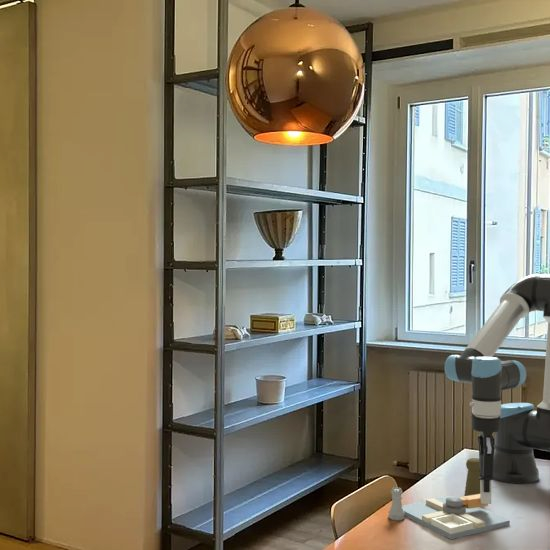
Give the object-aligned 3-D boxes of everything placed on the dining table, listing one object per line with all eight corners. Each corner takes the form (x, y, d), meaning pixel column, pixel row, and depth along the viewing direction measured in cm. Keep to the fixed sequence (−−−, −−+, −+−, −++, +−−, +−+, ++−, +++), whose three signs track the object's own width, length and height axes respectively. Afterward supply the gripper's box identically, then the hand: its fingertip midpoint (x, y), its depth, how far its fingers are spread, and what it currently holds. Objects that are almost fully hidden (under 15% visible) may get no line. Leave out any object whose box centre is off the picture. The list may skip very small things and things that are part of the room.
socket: (452, 519, 190) (452, 513, 190) (473, 528, 184) (473, 522, 184) (431, 524, 187) (431, 518, 187) (450, 534, 180) (450, 528, 180)
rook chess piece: (394, 522, 192) (394, 492, 191) (384, 516, 196) (385, 487, 195) (408, 519, 193) (408, 490, 193) (398, 514, 198) (399, 484, 197)
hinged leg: (452, 512, 191) (452, 503, 191) (442, 507, 195) (442, 498, 195) (490, 506, 195) (490, 497, 195) (479, 501, 199) (479, 492, 199)
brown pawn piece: (486, 500, 208) (487, 462, 208) (464, 498, 210) (465, 461, 209) (484, 493, 214) (485, 456, 214) (463, 492, 215) (464, 455, 215)
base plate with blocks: (451, 499, 209) (451, 487, 209) (509, 524, 190) (509, 511, 190) (396, 511, 200) (396, 498, 199) (451, 539, 180) (451, 525, 180)
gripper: (468, 409, 201) (468, 494, 201) (474, 420, 188) (474, 510, 188) (496, 410, 199) (496, 495, 200) (504, 420, 187) (504, 511, 187)
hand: (485, 502), depth 194 cm, fingers closed
